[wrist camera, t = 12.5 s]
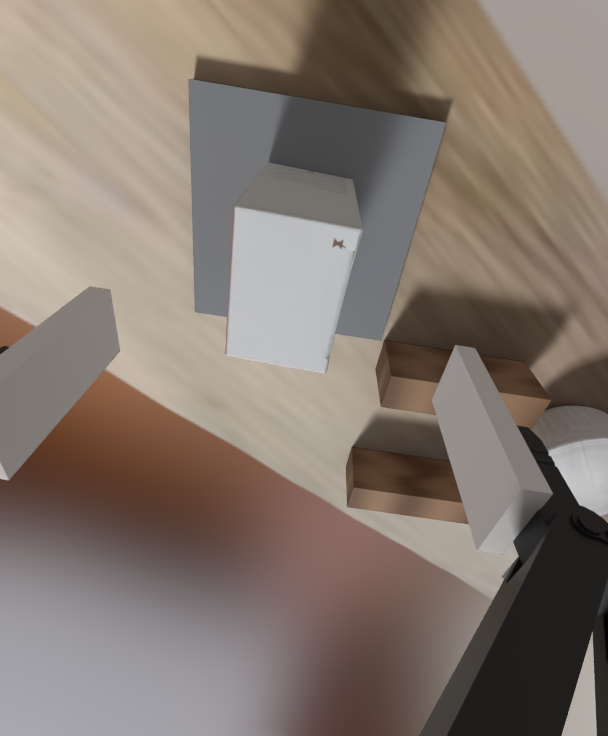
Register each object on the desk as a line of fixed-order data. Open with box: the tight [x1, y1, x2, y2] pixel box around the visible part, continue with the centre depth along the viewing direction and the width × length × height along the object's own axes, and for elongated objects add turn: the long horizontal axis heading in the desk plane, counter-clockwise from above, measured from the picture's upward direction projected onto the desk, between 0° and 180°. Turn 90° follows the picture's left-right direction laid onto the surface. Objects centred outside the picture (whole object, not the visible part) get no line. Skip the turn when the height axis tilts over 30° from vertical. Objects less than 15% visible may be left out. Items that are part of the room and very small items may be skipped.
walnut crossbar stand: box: [346, 340, 551, 524], centre depth 35 cm, size 12×16×5 cm
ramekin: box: [531, 406, 608, 516], centre depth 36 cm, size 11×11×5 cm
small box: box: [225, 163, 363, 373], centre depth 23 cm, size 8×6×10 cm
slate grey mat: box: [188, 79, 446, 341], centre depth 27 cm, size 15×15×1 cm
